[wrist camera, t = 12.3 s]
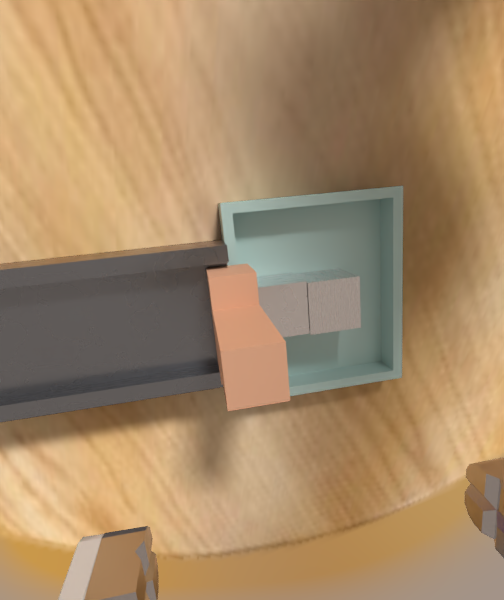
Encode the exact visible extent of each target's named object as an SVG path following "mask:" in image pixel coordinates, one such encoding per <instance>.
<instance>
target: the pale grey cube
mask: <svg viewBox="0 0 504 600" xmlns="http://www.w3.org/2000/svg"><path fill="white" fill-rule="evenodd" d="M295 275H296V276H298V277H300V278H302V279H303V280H305V281H306V282H307V298H308V315H309V332H310V333H309V334H310V335H314V334H321V333H328V332H334V331H341V330H348V329H355V328H361V309H360V276H358V275H355V274H353V273H350V272H348V271H345V270H342V269H340V268H337V269H329V270H321V271H312V272H304V273H296V274H295Z"/></svg>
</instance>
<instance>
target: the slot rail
mask: <svg viewBox="0 0 504 600" xmlns="http://www.w3.org/2000/svg"><path fill="white" fill-rule="evenodd" d="M228 262H229V259H228V250H227V244H226V243H225V242H224V241H223V240H217V241H207V242H198V243H189V244H180V245H170V246H161V247H152V248H143V249H134V250H124V251H115V252H106V253H97V254H87V255H78V256H69V257H60V258H51V259H41V260H32V261H23V262H14V263H4V264H0V422H6V421H12V420H18V419H25V418H31V417H37V416H43V415H50V414H56V413H62V412H69V411H75V410H81V409H88V408H94V407H100V406H106V405H113V404H119V403H125V402H132V401H138V400H144V399H151V398H157V397H163V396H170V395H176V394H182V393H188V392H195V391H201V390H207V389H214V388H220V387H223V385H222V384H221V378H220V372H219V366H218V359H217V351H216V343H215V335H214V327H213V320H212V312H211V304H210V296H209V288H208V280H207V272H206V268H212V267H221V266H228V264H227V263H228Z"/></svg>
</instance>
